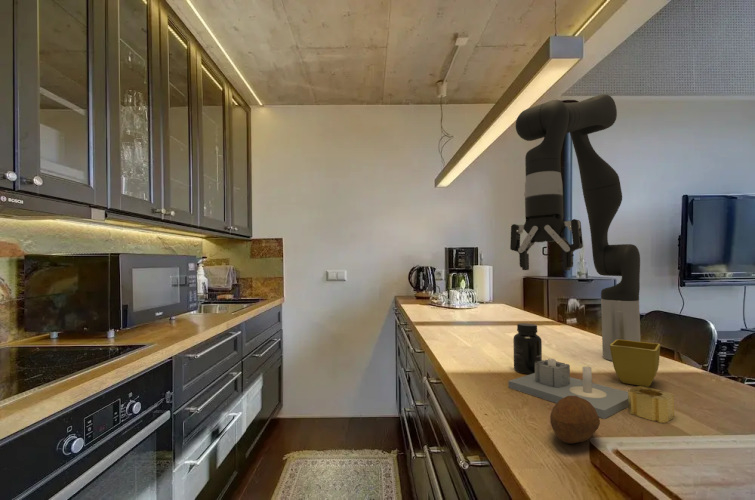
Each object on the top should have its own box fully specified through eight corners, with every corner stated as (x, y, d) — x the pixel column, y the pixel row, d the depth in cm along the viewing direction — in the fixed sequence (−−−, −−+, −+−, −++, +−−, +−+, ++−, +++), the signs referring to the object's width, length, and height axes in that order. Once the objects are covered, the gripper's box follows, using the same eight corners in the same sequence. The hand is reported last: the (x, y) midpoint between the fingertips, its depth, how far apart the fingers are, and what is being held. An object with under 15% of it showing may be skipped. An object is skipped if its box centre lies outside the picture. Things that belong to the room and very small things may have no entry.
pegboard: (543, 376, 89) (543, 349, 90) (637, 401, 73) (636, 369, 73) (508, 387, 81) (508, 358, 82) (604, 418, 65) (603, 382, 65)
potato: (603, 431, 60) (602, 389, 60) (597, 463, 51) (596, 412, 51) (558, 421, 64) (557, 381, 64) (545, 449, 55) (544, 402, 55)
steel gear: (547, 376, 84) (546, 359, 84) (572, 383, 79) (571, 364, 80) (532, 381, 81) (532, 363, 81) (557, 388, 76) (557, 369, 76)
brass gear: (639, 405, 71) (638, 385, 71) (676, 416, 66) (675, 393, 66) (626, 412, 67) (625, 391, 68) (664, 424, 63) (663, 400, 63)
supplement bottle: (545, 375, 90) (544, 327, 90) (516, 374, 91) (515, 326, 92) (538, 367, 97) (537, 322, 97) (511, 366, 98) (511, 322, 98)
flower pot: (610, 383, 84) (608, 344, 84) (617, 374, 90) (616, 338, 91) (657, 392, 78) (656, 350, 78) (662, 382, 84) (660, 343, 85)
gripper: (584, 193, 77) (586, 270, 76) (518, 201, 86) (519, 269, 86) (574, 188, 71) (576, 270, 71) (504, 197, 81) (505, 270, 80)
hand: (545, 270), depth 78 cm, fingers open, 8 cm apart
